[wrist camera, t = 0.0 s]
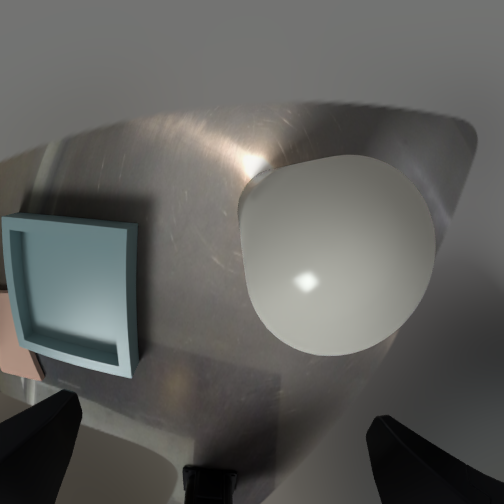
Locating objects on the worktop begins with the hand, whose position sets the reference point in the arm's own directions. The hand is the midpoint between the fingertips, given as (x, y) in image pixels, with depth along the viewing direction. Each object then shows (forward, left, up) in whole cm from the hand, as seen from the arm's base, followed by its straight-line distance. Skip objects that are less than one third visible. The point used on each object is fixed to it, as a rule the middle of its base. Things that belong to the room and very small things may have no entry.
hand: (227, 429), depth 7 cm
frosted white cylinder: (+5, -3, -15) cm, 16 cm away
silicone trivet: (-10, +23, -15) cm, 29 cm away
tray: (-3, +13, -15) cm, 20 cm away
